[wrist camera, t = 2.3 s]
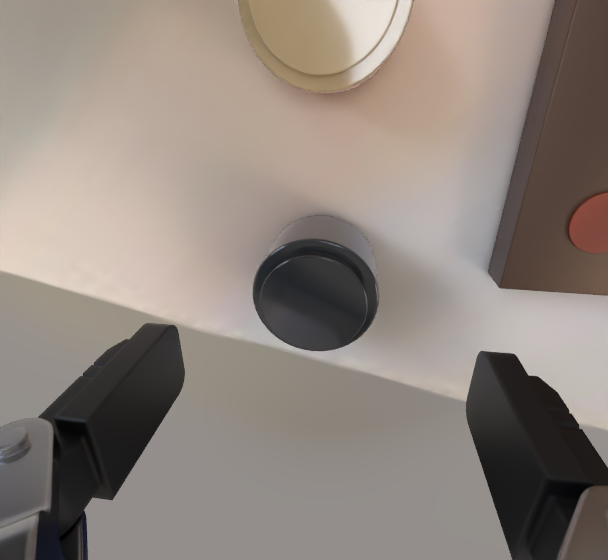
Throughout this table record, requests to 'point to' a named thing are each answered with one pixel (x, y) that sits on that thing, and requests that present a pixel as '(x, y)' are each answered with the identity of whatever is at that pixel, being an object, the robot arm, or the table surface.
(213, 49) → the table surface
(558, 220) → the board
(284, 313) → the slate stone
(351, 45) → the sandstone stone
